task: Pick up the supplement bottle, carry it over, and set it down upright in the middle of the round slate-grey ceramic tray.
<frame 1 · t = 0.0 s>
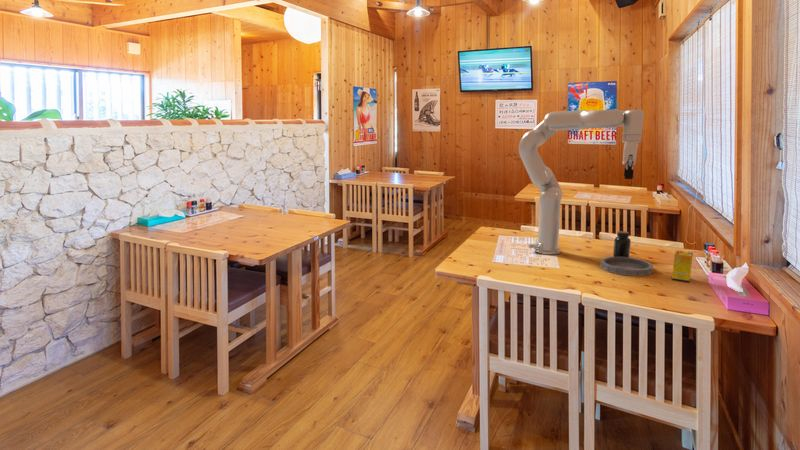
hand: (628, 177, 205), 37 cm above the table, tool pointing down, fingers open, 9 cm apart
round tray: (625, 268, 198), on the table
supplement bottle: (620, 257, 215), on the table
supplement box: (680, 279, 183), on the table
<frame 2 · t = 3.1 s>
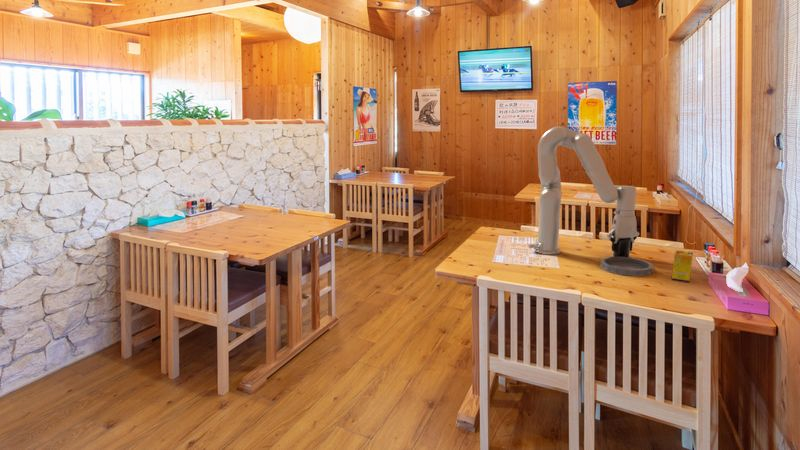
hand: (621, 250, 214), 3 cm above the table, tool pointing down, fingers closed on supplement bottle, 6 cm apart
supplement bottle: (620, 257, 215), on the table, touching gripper
everything else where it was.
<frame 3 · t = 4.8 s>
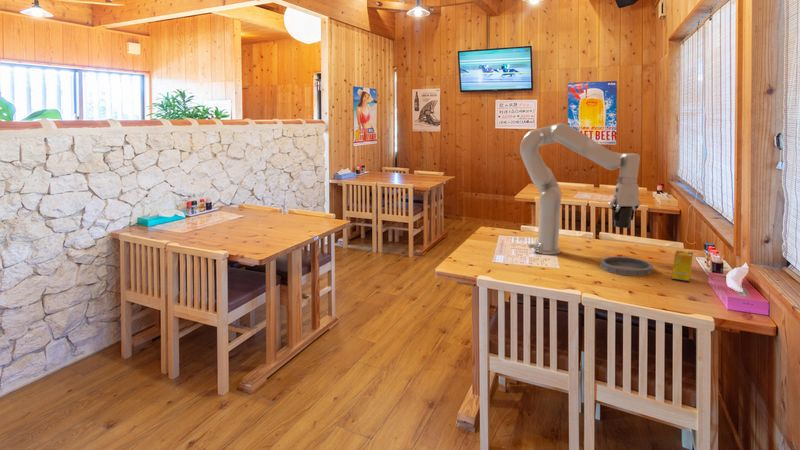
hand: (622, 219, 211), 18 cm above the table, tool pointing down, fingers closed on supplement bottle, 6 cm apart
supplement bottle: (621, 227, 212), point 14 cm above the table, touching gripper
everything else where it was.
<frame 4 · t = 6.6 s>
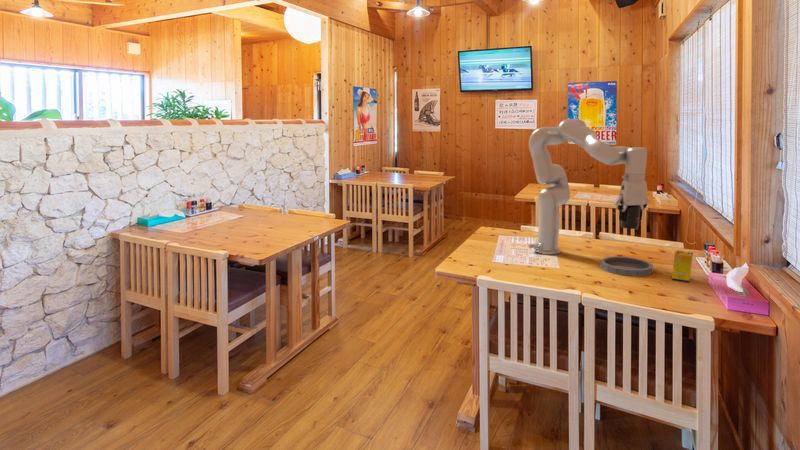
hand: (630, 219, 193), 21 cm above the table, tool pointing down, fingers closed on supplement bottle, 6 cm apart
supplement bottle: (629, 227, 194), point 18 cm above the table, touching gripper
everything else where it was.
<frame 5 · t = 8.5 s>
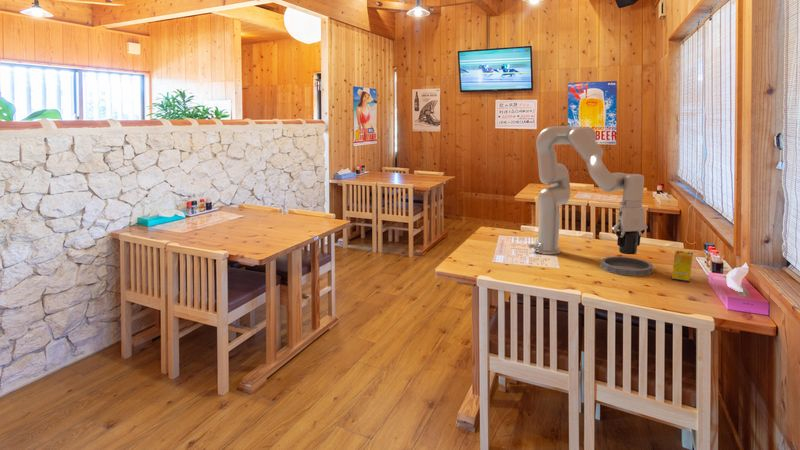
hand: (628, 245, 195), 10 cm above the table, tool pointing down, fingers closed on supplement bottle, 6 cm apart
supplement bottle: (627, 253, 196), point 7 cm above the table, touching gripper
everything else where it was.
when the fingers open (5 cm above the table, at t = 10.1 s): supplement bottle stays where it is, resting on round tray.
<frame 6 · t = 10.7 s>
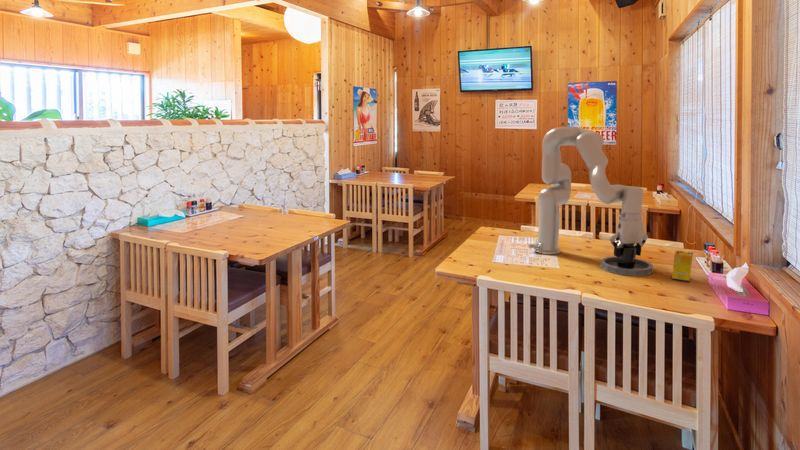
hand: (627, 255, 196), 6 cm above the table, tool pointing down, fingers open, 9 cm apart
supplement bottle: (625, 267, 198), point 1 cm above the table, touching round tray
everything else where it was.
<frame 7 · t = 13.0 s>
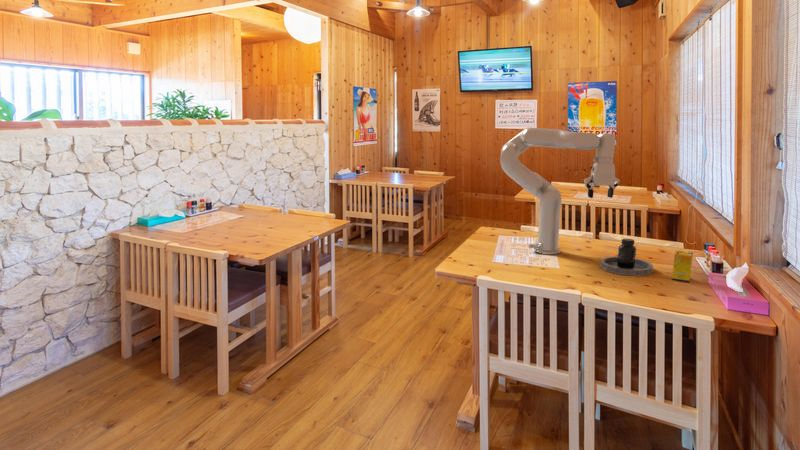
hand: (600, 197, 216), 27 cm above the table, tool pointing down, fingers open, 9 cm apart
nothing on the table moved.
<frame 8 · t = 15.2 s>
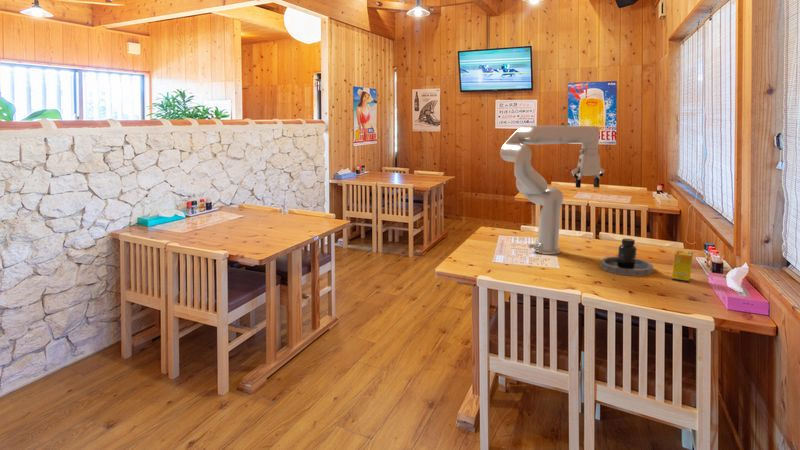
hand: (587, 187, 228), 30 cm above the table, tool pointing down, fingers open, 9 cm apart
nothing on the table moved.
at the end: supplement bottle inside the target area on the round tray (0.1 cm from its centre), point 0.6 cm above the round tray's base; supplement bottle tilted 1°; the gripper is holding nothing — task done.
